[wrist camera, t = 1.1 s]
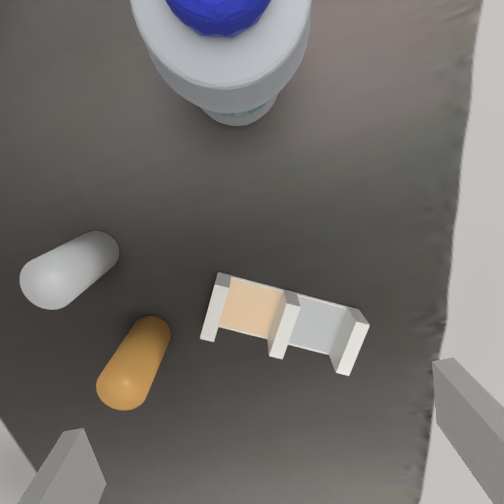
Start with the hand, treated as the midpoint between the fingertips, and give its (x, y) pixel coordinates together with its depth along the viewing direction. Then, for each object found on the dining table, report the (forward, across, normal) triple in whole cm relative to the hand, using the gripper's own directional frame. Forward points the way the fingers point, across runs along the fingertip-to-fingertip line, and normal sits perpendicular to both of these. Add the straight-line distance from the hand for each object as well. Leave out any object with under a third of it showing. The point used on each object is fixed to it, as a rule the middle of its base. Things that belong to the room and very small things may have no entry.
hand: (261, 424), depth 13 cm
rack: (+19, +2, -5) cm, 19 cm away
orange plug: (+19, -10, -4) cm, 22 cm away
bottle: (+19, +2, +14) cm, 24 cm away
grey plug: (+19, -13, +4) cm, 23 cm away
